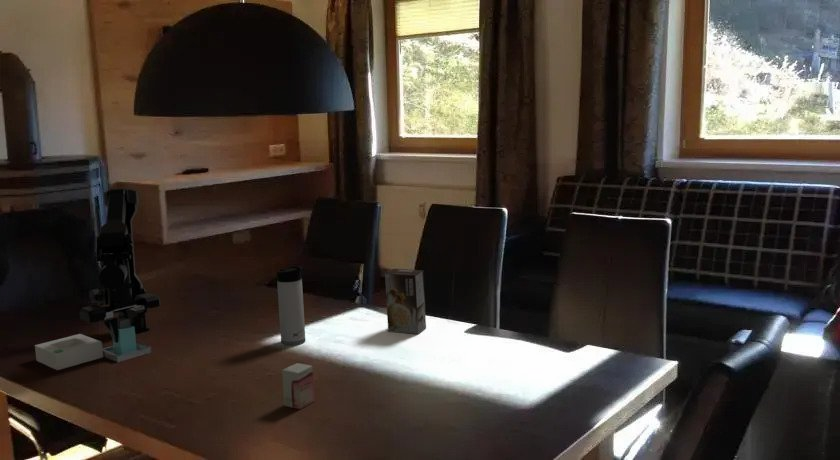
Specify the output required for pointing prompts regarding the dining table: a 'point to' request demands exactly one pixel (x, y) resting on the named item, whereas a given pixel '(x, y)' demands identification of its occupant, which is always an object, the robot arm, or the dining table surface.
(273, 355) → the dining table surface
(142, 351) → the open square ring
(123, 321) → the plug
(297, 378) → the small box
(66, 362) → the frame
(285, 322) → the travel mug
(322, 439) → the dining table surface
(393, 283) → the coffee box
